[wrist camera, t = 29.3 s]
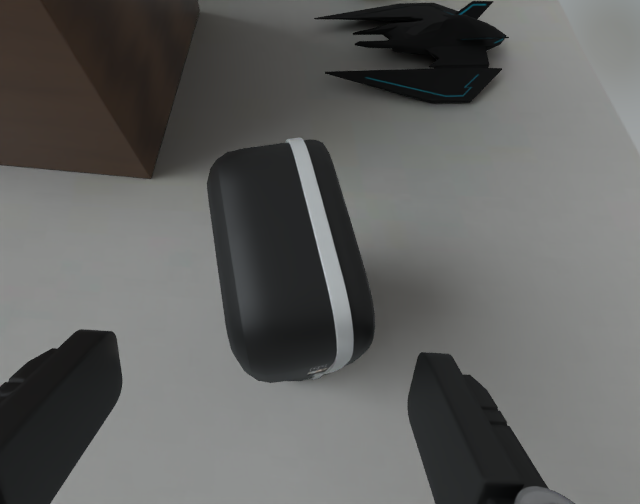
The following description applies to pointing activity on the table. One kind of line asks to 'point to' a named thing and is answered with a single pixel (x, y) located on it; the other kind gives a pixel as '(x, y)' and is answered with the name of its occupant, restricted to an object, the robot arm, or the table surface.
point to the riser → (90, 81)
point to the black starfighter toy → (430, 50)
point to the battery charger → (288, 262)
